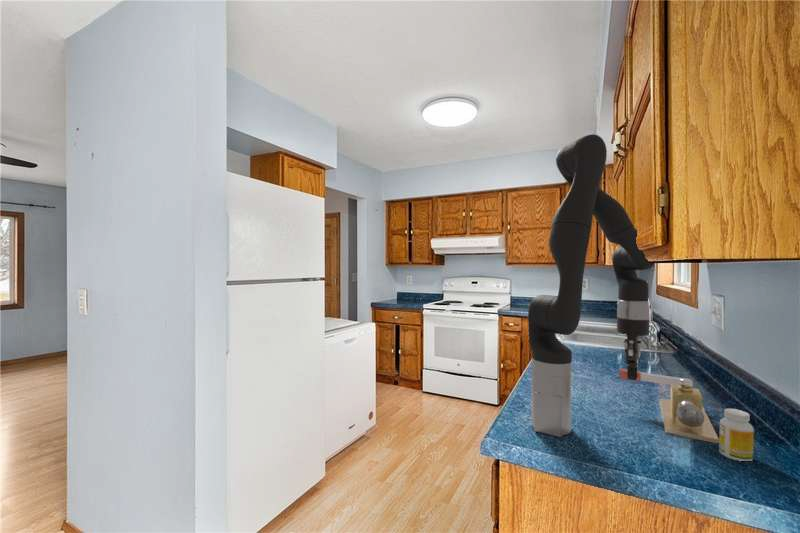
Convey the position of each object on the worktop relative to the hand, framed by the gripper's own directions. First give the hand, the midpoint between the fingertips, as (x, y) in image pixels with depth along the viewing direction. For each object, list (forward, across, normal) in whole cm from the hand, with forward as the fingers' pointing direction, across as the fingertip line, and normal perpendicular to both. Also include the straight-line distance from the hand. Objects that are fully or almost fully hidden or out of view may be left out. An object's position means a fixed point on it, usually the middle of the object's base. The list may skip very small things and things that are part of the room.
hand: (632, 379), depth 100 cm
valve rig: (+10, +4, -12) cm, 16 cm away
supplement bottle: (+10, -13, -20) cm, 25 cm away
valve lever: (+1, +3, -5) cm, 6 cm away
